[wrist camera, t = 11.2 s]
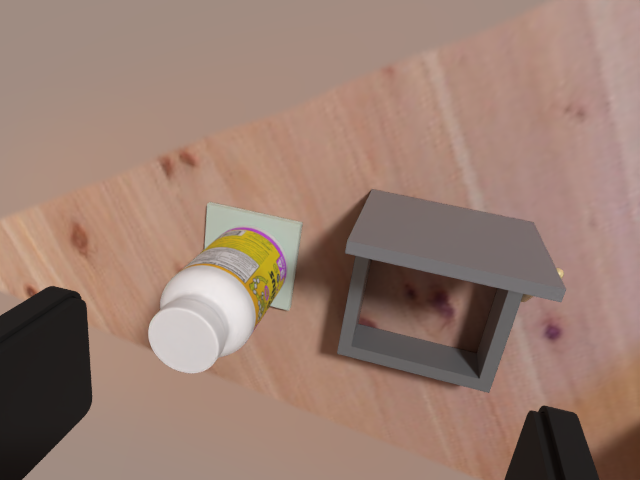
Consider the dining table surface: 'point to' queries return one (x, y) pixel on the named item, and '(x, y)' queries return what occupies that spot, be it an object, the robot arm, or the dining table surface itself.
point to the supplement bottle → (218, 299)
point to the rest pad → (280, 228)
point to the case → (452, 261)
